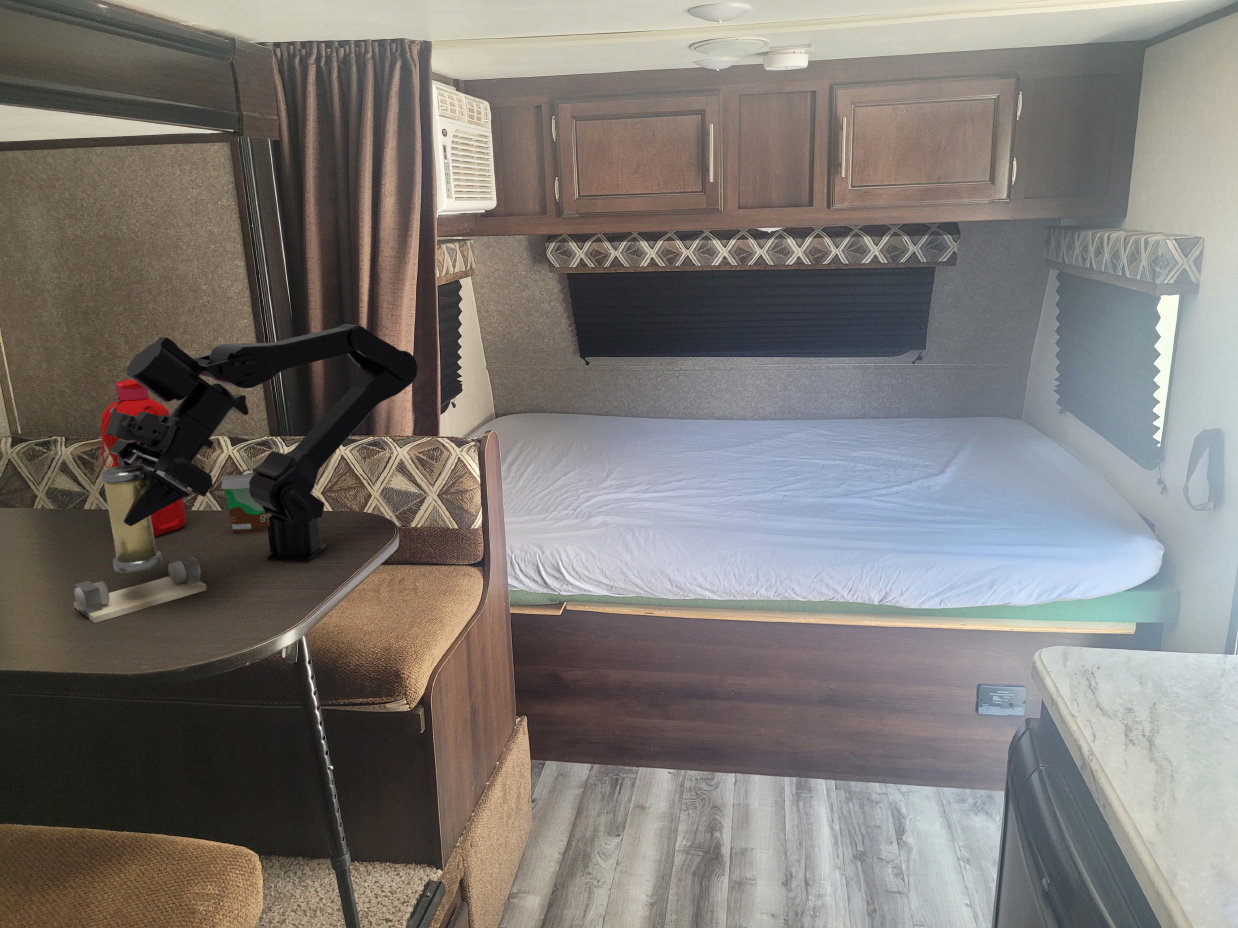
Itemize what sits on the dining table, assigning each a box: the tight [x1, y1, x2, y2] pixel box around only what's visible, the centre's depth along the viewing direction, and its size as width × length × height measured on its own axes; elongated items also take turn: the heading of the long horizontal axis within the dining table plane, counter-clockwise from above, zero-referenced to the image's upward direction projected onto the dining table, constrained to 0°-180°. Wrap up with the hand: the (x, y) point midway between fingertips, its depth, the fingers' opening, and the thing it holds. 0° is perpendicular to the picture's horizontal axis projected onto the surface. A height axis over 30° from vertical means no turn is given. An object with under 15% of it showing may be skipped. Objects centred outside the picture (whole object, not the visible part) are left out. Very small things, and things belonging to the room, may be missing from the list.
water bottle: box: [99, 378, 187, 537], centre depth 141 cm, size 9×11×25 cm
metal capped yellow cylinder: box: [100, 465, 163, 574], centre depth 114 cm, size 6×6×13 cm
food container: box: [221, 458, 272, 535], centre depth 146 cm, size 12×6×10 cm, turn 170°
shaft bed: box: [73, 554, 208, 624], centre depth 116 cm, size 15×7×4 cm, turn 139°
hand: (119, 520), depth 113 cm, fingers closed on metal capped yellow cylinder, 5 cm apart
